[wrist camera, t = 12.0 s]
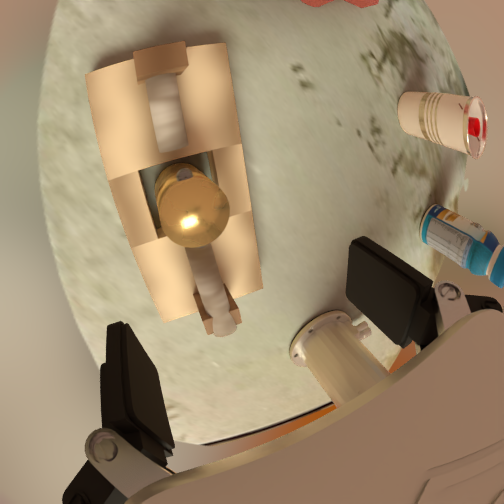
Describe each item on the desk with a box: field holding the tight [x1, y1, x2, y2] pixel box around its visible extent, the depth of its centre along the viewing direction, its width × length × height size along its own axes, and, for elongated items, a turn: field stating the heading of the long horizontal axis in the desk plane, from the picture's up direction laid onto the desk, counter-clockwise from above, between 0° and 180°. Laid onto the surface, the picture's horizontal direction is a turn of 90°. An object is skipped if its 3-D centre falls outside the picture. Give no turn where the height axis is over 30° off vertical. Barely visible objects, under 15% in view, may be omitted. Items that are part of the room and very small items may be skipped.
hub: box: [155, 163, 230, 248], centre depth 22 cm, size 5×6×8 cm
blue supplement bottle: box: [420, 204, 504, 288], centre depth 36 cm, size 8×8×20 cm
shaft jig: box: [85, 41, 263, 337], centre depth 22 cm, size 12×26×8 cm, turn 8°
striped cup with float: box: [398, 92, 488, 159], centre depth 26 cm, size 10×8×12 cm
